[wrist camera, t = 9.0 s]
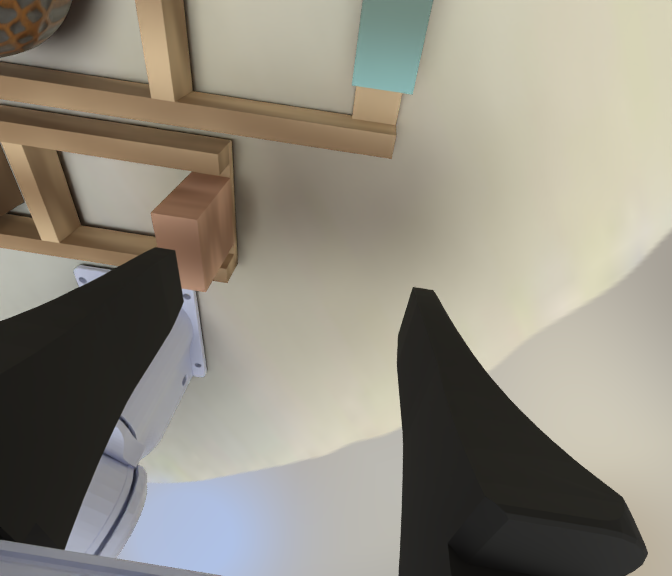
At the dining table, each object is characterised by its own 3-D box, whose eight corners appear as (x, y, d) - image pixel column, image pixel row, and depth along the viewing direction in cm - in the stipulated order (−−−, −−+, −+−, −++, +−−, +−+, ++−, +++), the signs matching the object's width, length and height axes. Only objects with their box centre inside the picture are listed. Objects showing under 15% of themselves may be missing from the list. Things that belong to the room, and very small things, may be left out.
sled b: (237, 263, 24) (208, 318, 20) (-89, 212, 24) (-181, 257, 20) (231, 140, 19) (192, 181, 16) (-174, 78, 20) (-313, 103, 16)
